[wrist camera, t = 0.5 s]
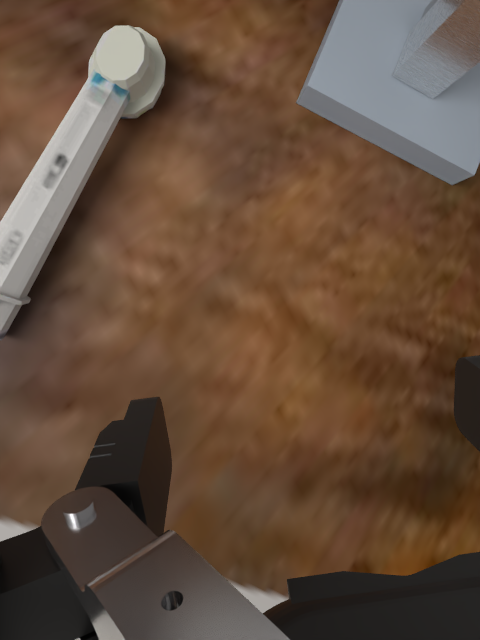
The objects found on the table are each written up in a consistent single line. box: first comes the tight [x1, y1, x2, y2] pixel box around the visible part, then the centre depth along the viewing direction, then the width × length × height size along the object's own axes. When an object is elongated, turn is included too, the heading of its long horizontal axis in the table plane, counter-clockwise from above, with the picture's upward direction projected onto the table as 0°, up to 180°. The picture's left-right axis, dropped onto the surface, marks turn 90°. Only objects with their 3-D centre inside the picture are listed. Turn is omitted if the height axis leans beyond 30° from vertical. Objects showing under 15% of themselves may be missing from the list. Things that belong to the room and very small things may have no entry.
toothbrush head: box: [0, 26, 166, 340], centre depth 33 cm, size 5×7×25 cm
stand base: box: [296, 0, 480, 185], centre depth 35 cm, size 16×12×10 cm
